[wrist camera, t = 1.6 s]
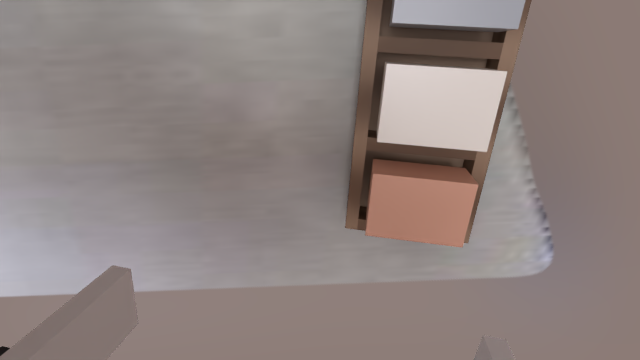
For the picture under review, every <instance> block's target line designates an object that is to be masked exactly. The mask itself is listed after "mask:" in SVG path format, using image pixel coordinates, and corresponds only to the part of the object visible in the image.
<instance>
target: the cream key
mask: <svg viewBox="0 0 640 360" xmlns="http://www.w3.org/2000/svg"><path fill="white" fill-rule="evenodd" d="M506 75H507V71H501V70H495V69H488V68H472V67H457V66H441V65H426V64H410V63H395V62H385V65H384V74H383V82H382V90H381V98H380V106H379V114H378V122H377V142H383V143H394V144H405V145H416V146H426V147H437V148H448V149H459V150H470V151H480V152H487V149H488V145H489V142H490V138H491V134H492V130H493V126H494V122H495V118H496V114H497V110H498V106H499V103H500V99H501V95H502V91H503V87H504V83H505V79H506Z"/></svg>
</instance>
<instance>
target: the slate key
mask: <svg viewBox="0 0 640 360" xmlns="http://www.w3.org/2000/svg"><path fill="white" fill-rule="evenodd" d="M524 4H525V0H392V8H391V16H390V24H389V27H406V28H425V29H444V30H463V31H483V32H502V31H509V30H516V29H518V28H519V24H520V20H521V16H522V12H523V8H524Z"/></svg>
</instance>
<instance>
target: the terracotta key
mask: <svg viewBox="0 0 640 360" xmlns="http://www.w3.org/2000/svg"><path fill="white" fill-rule="evenodd" d="M477 189H478V183H477V182H476V181H475V180H474V178H473V177H472V176H471V174H470V173H469V172H468V171H467V169H466V168H461V167H451V166H441V165H430V164H420V163H410V162H400V161H390V160H380V159H373V163H372V172H371V180H370V188H369V196H368V204H367V212H366V234H365V235H367V236H375V237H383V238H391V239H399V240H407V241H415V242H423V243H431V244H439V245H447V246H455V247H463V243H464V239H465V236H466V232H467V228H468V224H469V220H470V216H471V212H472V208H473V204H474V200H475V197H476V193H477Z"/></svg>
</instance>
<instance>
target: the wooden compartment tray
mask: <svg viewBox="0 0 640 360" xmlns="http://www.w3.org/2000/svg"><path fill="white" fill-rule="evenodd" d="M530 4H531V0H525V4H524V8H523V12H522V16H521V20H520V24H519V28H518V29H516V30H509V31H502V32H483V31H463V30H444V29H425V28H406V27H389V24H390V16H391V8H392V0H367V10H366V21H365V31H364V41H363V51H362V62H361V72H360V82H359V92H358V103H357V113H356V123H355V133H354V144H353V154H352V164H351V175H350V185H349V195H348V205H347V216H346V226H345V228H349V229H357V230H365V231H366V212H367V204H368V196H369V188H370V180H371V172H372V163H373V159H380V160H390V161H400V162H410V163H420V164H430V165H441V166H451V167H461V168H466V169H467V171H468V172H469V173H470V174H471V176H472V177H473V178H474V180H475V181H476V182H477V183H478V189H477V193H476V197H475V200H474V204H473V208H472V212H471V216H470V220H469V224H468V228H467V232H466V236H465V239H464V243H468V241H469V237H470V233H471V229H472V225H473V222H474V218H475V214H476V210H477V206H478V203H479V199H480V195H481V191H482V187H483V184H484V180H485V176H486V172H487V168H488V164H489V161H490V157H491V153H492V149H493V145H494V142H495V138H496V134H497V130H498V126H499V123H500V119H501V115H502V111H503V107H504V103H505V100H506V96H507V92H508V88H509V84H510V81H511V77H512V73H513V69H514V65H515V62H516V57H517V54H518V50H519V46H520V42H521V38H522V35H523V31H524V27H525V23H526V19H527V16H528V12H529V8H530ZM385 62H395V63H410V64H426V65H441V66H457V67H472V68H488V69H495V70H501V71H507V75H506V79H505V83H504V87H503V91H502V95H501V99H500V103H499V106H498V110H497V114H496V118H495V122H494V126H493V130H492V134H491V138H490V142H489V145H488V149H487V152H480V151H470V150H459V149H448V148H437V147H426V146H416V145H405V144H394V143H383V142H377V122H378V114H379V106H380V98H381V90H382V82H383V74H384V65H385Z"/></svg>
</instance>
